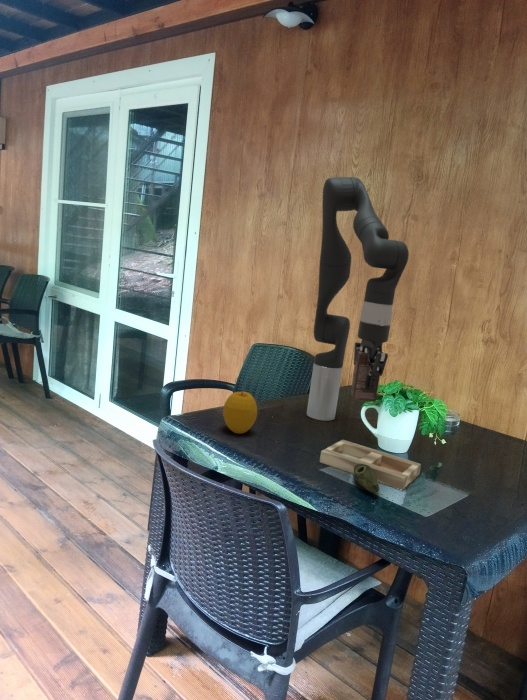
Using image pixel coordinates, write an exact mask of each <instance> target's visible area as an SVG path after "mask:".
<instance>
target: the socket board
mask: <svg viewBox="0 0 527 700" xmlns="http://www.w3.org/2000/svg"><path fill="white" fill-rule="evenodd" d="M319 463H321V464H324V465H327V466H329V467H333V468H335V469H338V470H341V471H344V472H347V473H350V474H353V475H354V467H355V466H356V465H357V464H359V463H360V464H365V465H368V466H370V467H371V468H372V469H373V470H374V472H375V474H376V477H377V481H378V483H379V482H380V483H379V484H382V483H383V485H385V484H386V485H385V486H388V485H389V486H388V487H391V486H392V487H391V488H394V487H395V488H394V489H397V488H399V489H398V490H400V489H403V490H405V489H406V488H407V487H408V486H409V485H410V484H412V482H413V481H414V480H416V479H417V478H418V477H419V476H420V473H421V468H422V463H419V462H415V461H412V460H409V459H406V458H403V457H400V456H397V455H393V454H390V453H387V452H384V451H381V450H378V449H374V448H371V447H368V446H364V445H361V444H358V443H354V442H352V441H349V440H345V439H341V440H339V441H337V442H335V443H333V444H332V445H330V446H327V448H325V449H322V450H321V451H320V457H319ZM418 475H419V476H418ZM417 476H418V477H417ZM416 477H417V478H416ZM409 483H410V484H409ZM408 484H409V485H408ZM407 485H408V486H407ZM406 486H407V487H406ZM405 487H406V488H405Z"/></svg>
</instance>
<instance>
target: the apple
mask: <svg viewBox="0 0 527 700" xmlns="http://www.w3.org/2000/svg"><path fill="white" fill-rule="evenodd" d="M222 415H223V419H224V422H225V425H226V426H227V428H228V429H229V430H230V431H231V432H232V433H234V434H241V435H242V434H245V433H247V432H248V431H249V430H250V429H251V428H252V426H253V425H254V424H255V422H256V420H257V417H258V405H257V401H256V399H255V398H254V396H253V395H252V394H251V393H250V392H247V391H235V392H233V393H231V394H230V395H229V396H228V397H227V399H226V400H225V402H224V405H223V409H222Z"/></svg>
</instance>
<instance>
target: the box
mask: <svg viewBox="0 0 527 700" xmlns="http://www.w3.org/2000/svg"><path fill="white" fill-rule="evenodd" d="M366 356H367V355H366V354H365V352H361V351H357V355H356V362H355V365H354V370H353V375H352V384H351V389H350V397H351V399H352V400H355V401H363V402H364V401H365V402H373V403H376V402H377V396H378V390H379V383H380V377H381V376H377V377H376V382H375V388H374V391H367V390H366V389H365V386H366V380H367V376H368V367H367V366H366ZM370 363H374V362H370ZM372 368H373V367H372ZM379 369H380V367H379Z"/></svg>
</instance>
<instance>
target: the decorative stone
mask: <svg viewBox="0 0 527 700" xmlns="http://www.w3.org/2000/svg"><path fill="white" fill-rule="evenodd" d="M353 476H354V479H355V481H356V482H357V484H358V485H360V486H361V487H362V488H364V489H365V490H368V491H369V492H372V493H379V492H380V485H379V482H378V481H377V477H376V474H375V472H374V470H373V469H372V468H371V467H370V466H368V465H365V464H360V463H359V464H357V465H356V466H355V467H354V474H353Z"/></svg>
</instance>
